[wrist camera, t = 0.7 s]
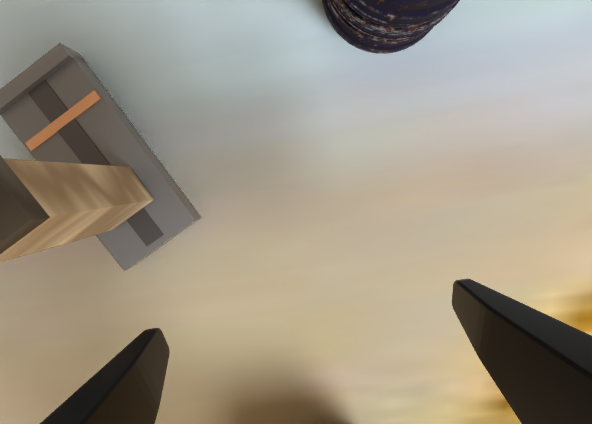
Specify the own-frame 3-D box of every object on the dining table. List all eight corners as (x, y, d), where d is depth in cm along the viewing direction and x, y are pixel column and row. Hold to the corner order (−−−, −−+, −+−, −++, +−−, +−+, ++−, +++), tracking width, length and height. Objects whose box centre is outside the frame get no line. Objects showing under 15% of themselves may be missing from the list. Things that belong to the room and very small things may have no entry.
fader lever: (156, 200, 23) (29, 220, 12) (112, 231, 23) (-51, 280, 12) (129, 164, 23) (-25, 153, 12) (85, 197, 23) (-107, 215, 12)
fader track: (201, 217, 25) (193, 221, 23) (134, 265, 25) (120, 273, 23) (79, 54, 23) (59, 42, 21) (10, 108, 24) (-16, 101, 22)
